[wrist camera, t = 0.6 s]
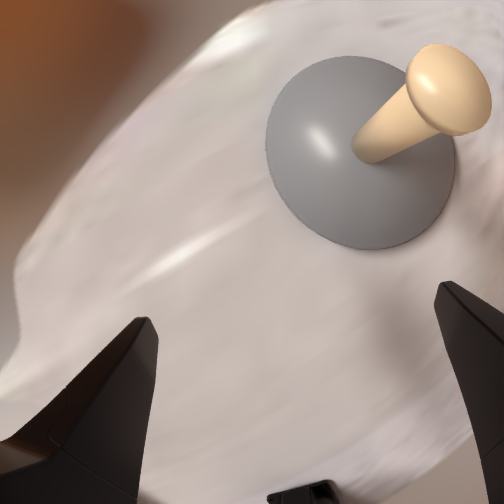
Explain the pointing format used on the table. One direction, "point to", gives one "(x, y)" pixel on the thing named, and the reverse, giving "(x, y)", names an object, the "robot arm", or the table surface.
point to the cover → (373, 143)
